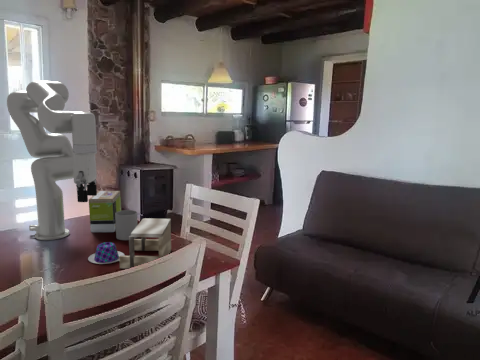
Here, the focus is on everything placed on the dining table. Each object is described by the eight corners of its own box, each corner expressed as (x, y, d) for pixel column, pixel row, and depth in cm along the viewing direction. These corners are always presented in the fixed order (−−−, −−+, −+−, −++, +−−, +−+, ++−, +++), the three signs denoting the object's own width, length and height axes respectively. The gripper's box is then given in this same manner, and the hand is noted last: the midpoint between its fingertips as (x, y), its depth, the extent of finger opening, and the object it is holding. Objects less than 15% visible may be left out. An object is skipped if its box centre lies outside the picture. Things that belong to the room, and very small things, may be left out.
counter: (119, 268, 125) (118, 233, 123) (133, 249, 143) (132, 217, 140) (162, 269, 126) (162, 234, 123) (171, 249, 143) (170, 218, 141)
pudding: (128, 262, 132) (127, 247, 131) (90, 268, 126) (90, 253, 125) (120, 250, 142) (120, 236, 141) (85, 255, 136) (85, 241, 135)
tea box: (99, 222, 175) (98, 190, 172) (122, 222, 175) (121, 190, 173) (89, 232, 160) (88, 198, 157) (114, 232, 161) (113, 198, 158)
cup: (140, 233, 160) (140, 210, 158) (133, 240, 152) (132, 216, 150) (121, 232, 160) (120, 209, 159) (112, 239, 152) (111, 215, 151)
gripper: (82, 146, 139) (85, 193, 142) (63, 152, 122) (67, 204, 125) (103, 146, 139) (105, 193, 142) (87, 152, 122) (90, 204, 125)
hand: (87, 198), depth 134 cm, fingers open, 9 cm apart
